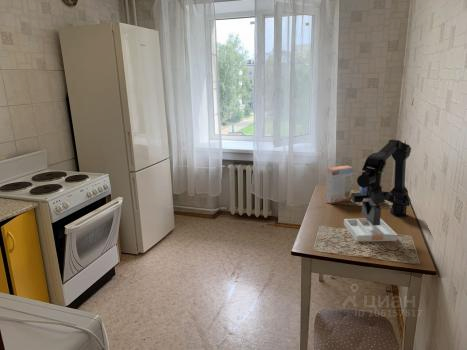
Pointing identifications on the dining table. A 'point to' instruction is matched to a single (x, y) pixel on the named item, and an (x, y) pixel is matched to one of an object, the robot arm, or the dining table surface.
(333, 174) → the cracker box
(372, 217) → the panel
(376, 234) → the slot rack
